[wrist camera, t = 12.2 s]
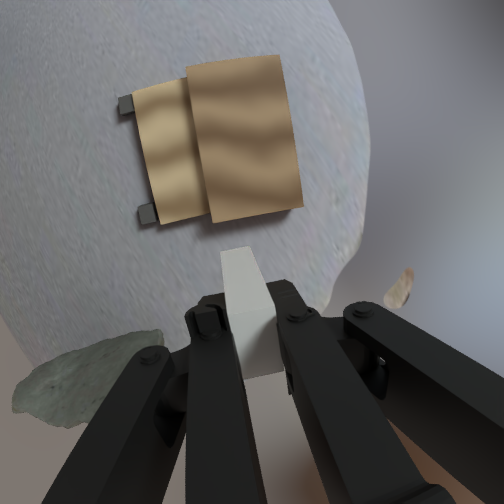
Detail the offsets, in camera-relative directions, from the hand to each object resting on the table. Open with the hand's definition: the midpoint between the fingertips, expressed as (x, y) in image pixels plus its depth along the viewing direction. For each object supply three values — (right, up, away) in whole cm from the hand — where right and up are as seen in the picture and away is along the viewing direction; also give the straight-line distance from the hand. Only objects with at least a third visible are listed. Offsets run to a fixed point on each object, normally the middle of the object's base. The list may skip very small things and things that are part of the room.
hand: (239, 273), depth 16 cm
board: (-1, +16, +23) cm, 28 cm away
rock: (-24, -13, +29) cm, 40 cm away
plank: (-8, +15, +24) cm, 30 cm away
